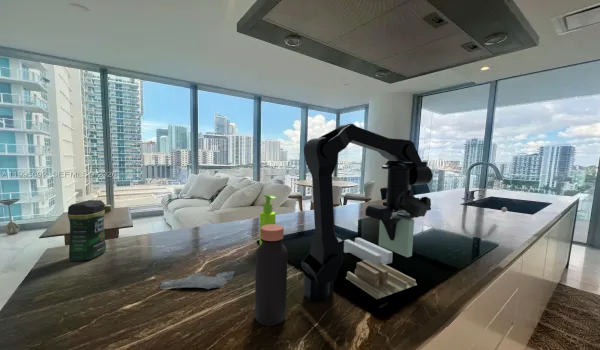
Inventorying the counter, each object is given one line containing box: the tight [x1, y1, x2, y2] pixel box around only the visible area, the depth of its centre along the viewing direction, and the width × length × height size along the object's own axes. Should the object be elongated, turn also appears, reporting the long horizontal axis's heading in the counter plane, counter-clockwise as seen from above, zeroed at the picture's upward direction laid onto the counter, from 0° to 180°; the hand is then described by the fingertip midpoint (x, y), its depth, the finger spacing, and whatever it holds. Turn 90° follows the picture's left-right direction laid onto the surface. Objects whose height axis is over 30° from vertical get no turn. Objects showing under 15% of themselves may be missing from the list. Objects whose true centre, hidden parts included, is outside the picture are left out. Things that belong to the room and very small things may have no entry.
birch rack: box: [345, 263, 418, 300], centre depth 69 cm, size 16×12×2 cm
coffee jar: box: [67, 199, 107, 262], centre depth 82 cm, size 10×8×19 cm
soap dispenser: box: [259, 194, 277, 246], centre depth 95 cm, size 6×7×20 cm
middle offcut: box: [361, 259, 388, 288], centre depth 68 cm, size 2×8×5 cm, turn 29°
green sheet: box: [378, 215, 415, 258], centre depth 71 cm, size 2×10×10 cm, turn 29°
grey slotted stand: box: [343, 237, 394, 267], centre depth 87 cm, size 7×16×4 cm, turn 29°
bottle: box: [254, 223, 288, 327], centre depth 54 cm, size 7×7×20 cm
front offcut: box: [355, 261, 380, 290], centre depth 67 cm, size 2×7×5 cm, turn 29°
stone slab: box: [156, 270, 236, 290], centre depth 69 cm, size 18×2×10 cm
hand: (394, 239), depth 71 cm, fingers closed on green sheet, 2 cm apart
